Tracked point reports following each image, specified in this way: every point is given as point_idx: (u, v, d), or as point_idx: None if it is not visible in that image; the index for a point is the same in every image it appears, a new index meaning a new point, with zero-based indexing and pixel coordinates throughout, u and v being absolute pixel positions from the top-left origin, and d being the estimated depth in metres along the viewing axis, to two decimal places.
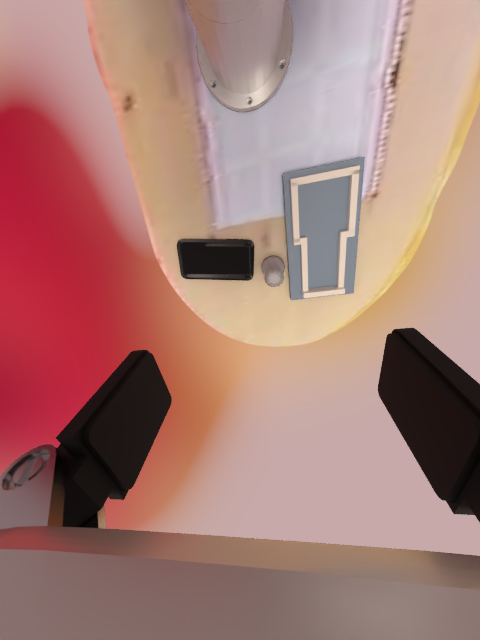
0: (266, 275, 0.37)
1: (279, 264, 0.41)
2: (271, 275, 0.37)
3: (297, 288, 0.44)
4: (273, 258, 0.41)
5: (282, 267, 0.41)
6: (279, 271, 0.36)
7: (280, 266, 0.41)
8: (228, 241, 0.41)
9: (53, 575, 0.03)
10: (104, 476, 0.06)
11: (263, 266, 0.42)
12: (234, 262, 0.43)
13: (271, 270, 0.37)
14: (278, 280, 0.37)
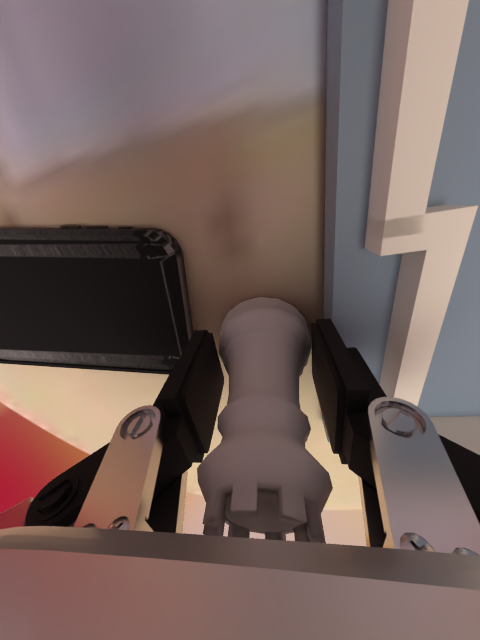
0: (204, 482, 0.05)
1: (293, 342, 0.09)
2: None
3: None
4: (263, 313, 0.09)
5: (304, 352, 0.09)
6: (303, 473, 0.04)
7: (296, 354, 0.09)
8: (65, 235, 0.09)
9: (53, 575, 0.03)
10: (191, 438, 0.07)
11: (222, 342, 0.10)
12: (117, 317, 0.11)
13: (238, 461, 0.05)
14: (293, 526, 0.05)
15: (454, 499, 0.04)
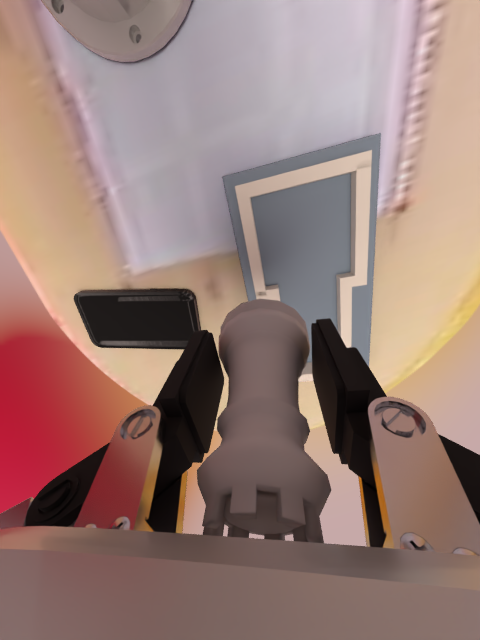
0: (203, 484, 0.05)
1: (292, 344, 0.09)
2: None
3: None
4: (263, 314, 0.09)
5: (303, 353, 0.09)
6: (301, 475, 0.05)
7: (295, 356, 0.09)
8: (152, 293, 0.25)
9: (53, 576, 0.03)
10: (191, 438, 0.07)
11: (221, 344, 0.10)
12: (168, 323, 0.27)
13: (237, 464, 0.05)
14: (292, 528, 0.05)
15: (454, 499, 0.04)
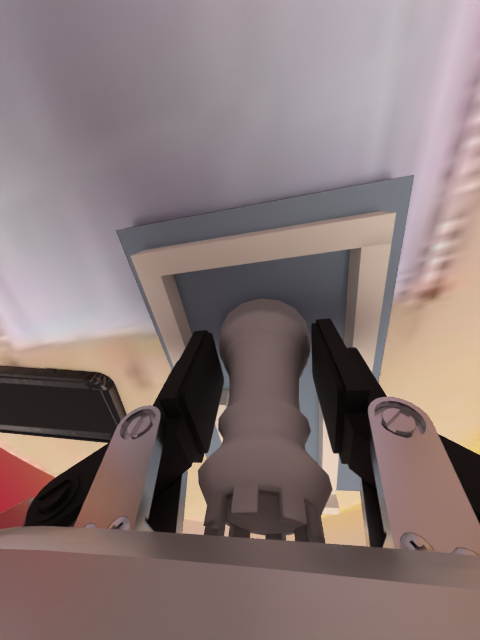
0: (205, 484, 0.05)
1: (293, 344, 0.09)
2: None
3: None
4: (263, 314, 0.09)
5: (304, 353, 0.09)
6: (303, 475, 0.05)
7: (296, 355, 0.09)
8: (45, 377, 0.16)
9: (53, 575, 0.03)
10: (191, 438, 0.07)
11: (222, 343, 0.10)
12: (79, 413, 0.18)
13: (239, 464, 0.05)
14: (294, 528, 0.05)
15: (454, 499, 0.04)
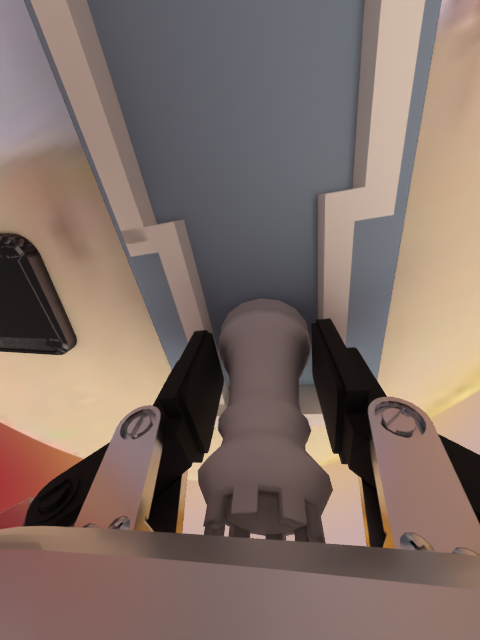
0: (204, 484, 0.05)
1: (293, 344, 0.09)
2: None
3: None
4: (263, 314, 0.09)
5: (304, 353, 0.09)
6: (303, 475, 0.04)
7: (296, 355, 0.09)
8: None
9: (52, 576, 0.03)
10: (191, 438, 0.07)
11: (222, 343, 0.10)
12: None
13: (239, 464, 0.05)
14: (294, 528, 0.05)
15: (454, 499, 0.04)
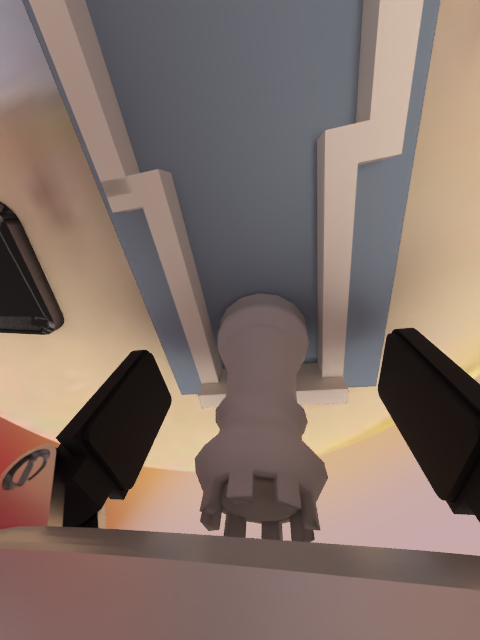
0: (201, 471, 0.05)
1: (291, 338, 0.09)
2: None
3: (191, 365, 0.13)
4: (261, 308, 0.09)
5: (301, 347, 0.09)
6: (298, 461, 0.05)
7: (294, 349, 0.09)
8: None
9: (52, 576, 0.03)
10: (104, 477, 0.06)
11: (220, 338, 0.10)
12: None
13: (234, 450, 0.05)
14: (289, 514, 0.05)
15: None
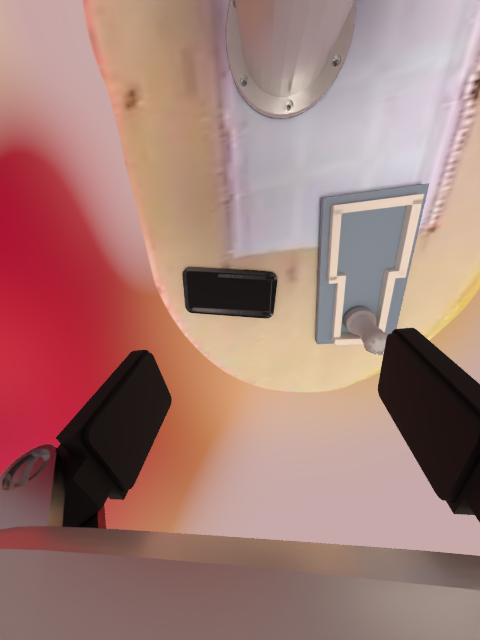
0: (369, 339, 0.28)
1: (374, 319, 0.32)
2: (377, 341, 0.27)
3: (326, 331, 0.36)
4: (364, 311, 0.32)
5: (375, 323, 0.32)
6: None
7: (375, 322, 0.32)
8: (246, 273, 0.34)
9: (52, 577, 0.03)
10: (105, 477, 0.06)
11: (349, 319, 0.33)
12: (252, 297, 0.36)
13: (377, 334, 0.27)
14: None
15: None
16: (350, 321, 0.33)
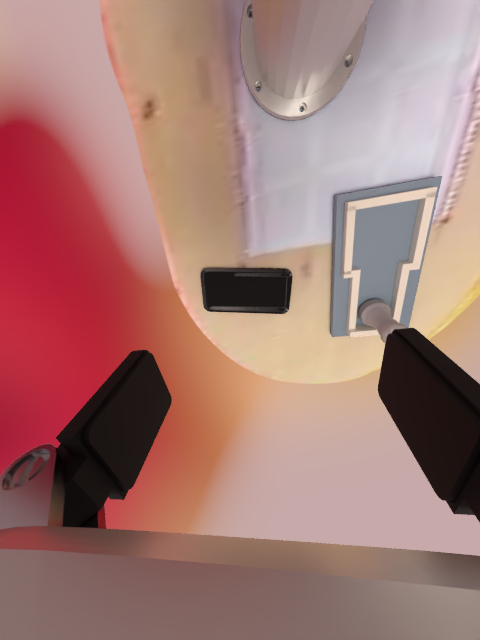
0: (385, 331, 0.29)
1: (388, 311, 0.33)
2: None
3: (341, 324, 0.37)
4: (379, 303, 0.33)
5: (390, 314, 0.33)
6: (404, 327, 0.28)
7: (389, 314, 0.33)
8: (262, 271, 0.35)
9: (52, 576, 0.03)
10: (105, 476, 0.06)
11: (364, 312, 0.34)
12: (268, 294, 0.37)
13: (393, 325, 0.29)
14: None
15: None
16: (365, 313, 0.34)
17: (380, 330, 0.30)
